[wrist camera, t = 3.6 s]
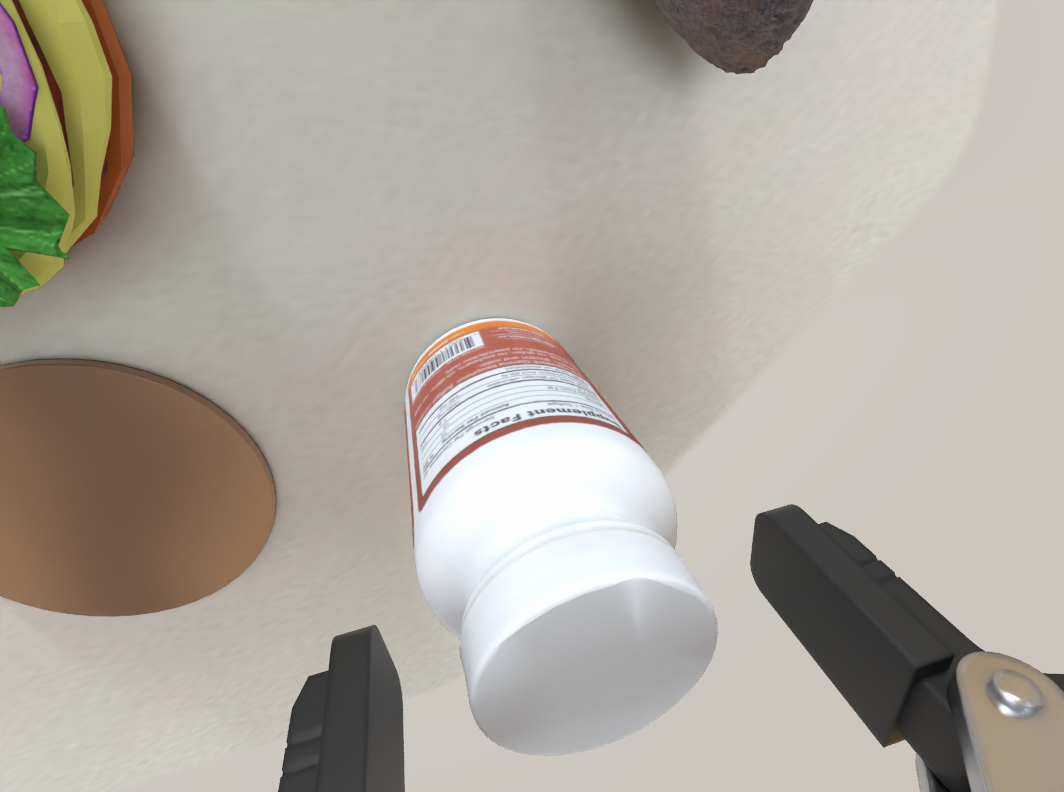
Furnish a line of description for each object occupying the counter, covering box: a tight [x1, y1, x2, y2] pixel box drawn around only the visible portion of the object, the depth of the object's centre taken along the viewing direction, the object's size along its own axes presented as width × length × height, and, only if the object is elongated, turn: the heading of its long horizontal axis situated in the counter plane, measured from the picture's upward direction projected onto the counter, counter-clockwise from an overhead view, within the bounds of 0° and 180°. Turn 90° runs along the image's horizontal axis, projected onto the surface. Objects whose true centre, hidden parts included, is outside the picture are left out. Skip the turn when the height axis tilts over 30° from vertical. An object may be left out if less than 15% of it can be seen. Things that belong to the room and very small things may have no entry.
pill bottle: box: [404, 318, 717, 756], centre depth 14 cm, size 6×6×11 cm
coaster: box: [0, 359, 276, 616], centre depth 17 cm, size 10×10×1 cm
